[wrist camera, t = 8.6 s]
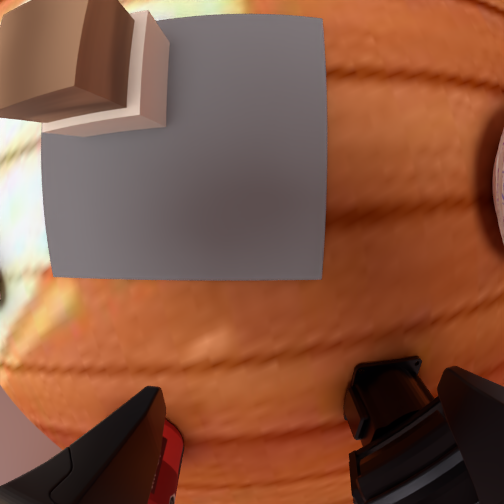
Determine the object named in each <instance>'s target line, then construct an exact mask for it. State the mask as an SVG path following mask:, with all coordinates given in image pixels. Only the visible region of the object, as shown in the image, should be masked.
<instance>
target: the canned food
mask: <svg viewBox="0 0 504 504" xmlns="http://www.w3.org/2000/svg"><path fill="white" fill-rule="evenodd" d="M183 452H184V445H183V439H182V436H181V434H180V433H179V431H178V430H177V429H176V428H175V427H174V426H173V425H172V424H171V423H170V422H168V421H167V420H165V423H164V430H163V437H162V445H161V452H160V457H159V461H158V465H157V469H156V473H155V476H154V480H153V484H152V488H151V492H150V496H149V499H148V503H147V504H174V502H175V496H176V491H177V485H178V479H179V474H180V468H181V462H182V457H183Z"/></svg>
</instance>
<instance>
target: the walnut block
mask: <svg viewBox="0 0 504 504" xmlns="http://www.w3.org/2000/svg"><path fill="white" fill-rule="evenodd" d="M134 22H135V20H134V19H133V18H132V17H131V16H130V14H129V13H128V12H127V11H126V10H125V8H124V7H123V6H122V5H121V4H120V3H119V1H118V0H31V1H29V2H27V3H25V4H23V5H21V6H19V7H17V8H15V9H13V10H12V11H10V12H8V13H6V14H4V15H3V18H2V22H1V25H0V118H9V119H18V120H26V121H34V122H41V123H49V122H53V121H57V120H62V119H66V118H71V117H76V116H81V115H86V114H91V113H97V112H103V111H109V110H115V109H122V108H127V90H128V76H129V65H130V54H131V45H132V37H133V29H134Z"/></svg>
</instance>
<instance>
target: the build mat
mask: <svg viewBox="0 0 504 504" xmlns="http://www.w3.org/2000/svg"><path fill="white" fill-rule="evenodd" d="M156 23H157V24H158V26H159V27H160V29H161V30H162V32H163V33H164V35H165V36H166V38H167V39H168V41H169V42H170V47H169V61H168V80H167V107H166V127H160V128H149V129H139V130H131V131H122V132H115V133H108V134H101V135H94V136H88V137H79V136H70V135H61V134H52V133H42V132H41V169H42V191H43V205H44V216H45V225H46V233H47V241H48V248H49V254H50V261H51V266H52V272H53V277H69V278H99V279H138V280H318V279H322V269H323V255H324V239H325V219H326V192H327V90H326V65H325V47H324V32H323V20H322V18H313V17H304V16H292V15H275V14H221V15H204V16H192V17H183V18H174V19H167V20H160V21H156Z"/></svg>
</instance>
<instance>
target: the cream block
mask: <svg viewBox="0 0 504 504" xmlns="http://www.w3.org/2000/svg"><path fill="white" fill-rule="evenodd" d="M130 16H131V17H132V18H133V19H134V20H135V22H134V29H133V37H132V45H131V54H130V65H129V76H128V90H127V108H122V109H115V110H109V111H103V112H97V113H91V114H86V115H81V116H76V117H71V118H66V119H62V120H57V121H53V122H49V123H42V133H52V134H61V135H70V136H79V137H88V136H94V135H101V134H108V133H115V132H122V131H131V130H139V129H149V128H160V127H166V107H167V80H168V61H169V47H170V42H169V41H168V39H167V38H166V36H165V35H164V33H163V32H162V30H161V29H160V27H159V26H158V24H157V23H156V21H155V20H154V18H153V17H152V15H151V14H150V12H149V11H148V10H146V11H140V12H135V13H130Z"/></svg>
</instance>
